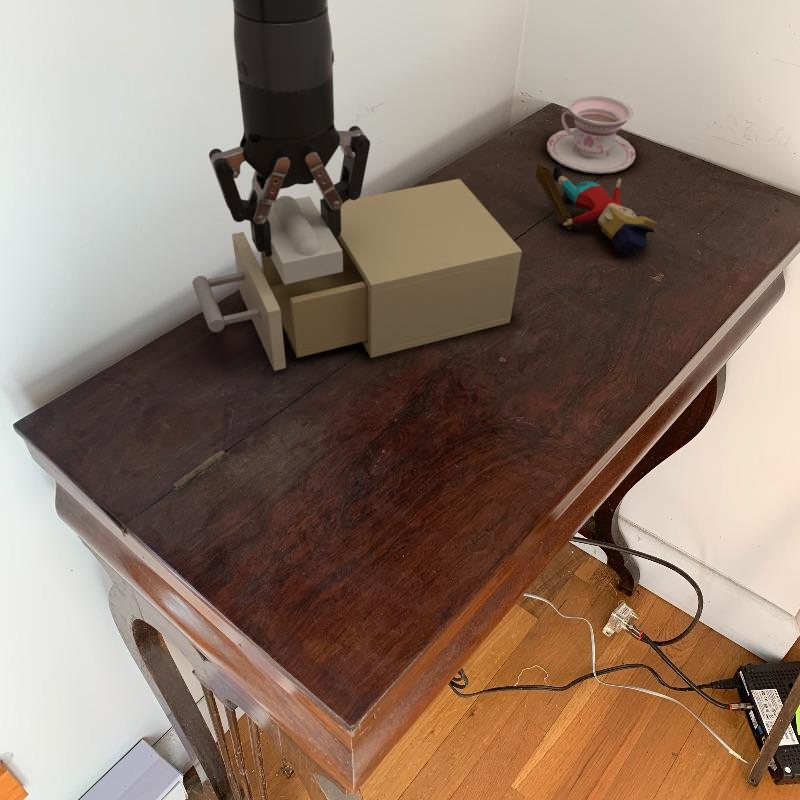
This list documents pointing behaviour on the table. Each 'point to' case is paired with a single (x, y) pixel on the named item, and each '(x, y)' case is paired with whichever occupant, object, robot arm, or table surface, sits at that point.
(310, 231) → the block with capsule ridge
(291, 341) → the drawer
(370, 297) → the cabinet
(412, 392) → the table surface
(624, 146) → the teacup
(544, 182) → the toy
